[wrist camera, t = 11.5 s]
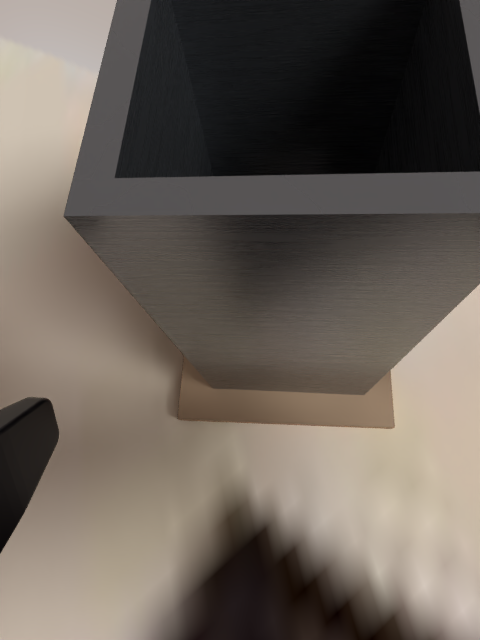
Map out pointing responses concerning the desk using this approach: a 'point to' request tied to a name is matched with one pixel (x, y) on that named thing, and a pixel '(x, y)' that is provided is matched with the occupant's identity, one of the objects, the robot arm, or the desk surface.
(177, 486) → the desk surface
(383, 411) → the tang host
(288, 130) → the socket sleeve
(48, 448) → the robot arm
